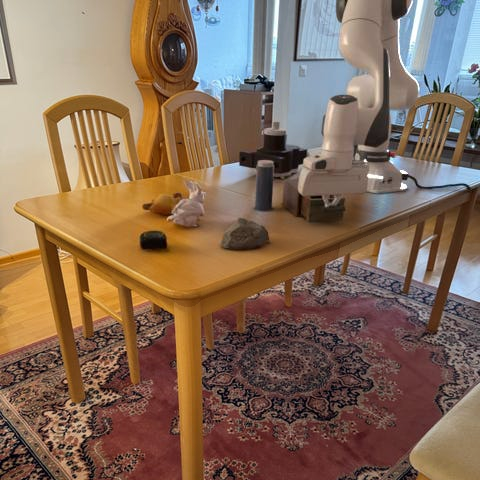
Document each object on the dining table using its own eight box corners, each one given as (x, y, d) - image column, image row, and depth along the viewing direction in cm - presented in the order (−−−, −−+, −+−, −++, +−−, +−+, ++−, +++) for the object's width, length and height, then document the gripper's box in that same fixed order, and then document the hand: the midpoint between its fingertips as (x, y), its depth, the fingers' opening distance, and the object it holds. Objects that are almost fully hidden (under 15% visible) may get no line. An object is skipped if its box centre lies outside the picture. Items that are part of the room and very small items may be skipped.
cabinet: (332, 214, 146) (336, 188, 142) (296, 216, 144) (298, 190, 139) (315, 202, 158) (318, 177, 154) (282, 204, 156) (283, 179, 151)
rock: (254, 234, 128) (255, 211, 124) (276, 243, 122) (278, 220, 119) (217, 245, 120) (217, 221, 117) (239, 255, 115) (239, 231, 111)
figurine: (213, 220, 138) (213, 178, 132) (181, 233, 128) (179, 188, 121) (193, 215, 142) (192, 174, 136) (160, 228, 132) (157, 183, 125)
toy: (137, 206, 138) (152, 192, 151) (146, 225, 141) (160, 210, 154) (170, 195, 135) (182, 182, 148) (178, 215, 138) (190, 200, 150)
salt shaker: (269, 205, 154) (271, 159, 146) (274, 210, 149) (276, 163, 142) (253, 206, 153) (254, 160, 145) (257, 211, 148) (259, 163, 140)
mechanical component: (240, 121, 182) (283, 115, 202) (239, 174, 193) (280, 164, 212) (283, 126, 170) (325, 120, 190) (280, 183, 181) (320, 172, 200)
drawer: (349, 225, 134) (353, 203, 131) (314, 227, 132) (316, 205, 129) (325, 207, 150) (327, 187, 146) (293, 209, 147) (294, 188, 144)
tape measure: (140, 253, 115) (139, 239, 113) (141, 243, 121) (140, 230, 119) (167, 252, 116) (166, 238, 114) (167, 242, 122) (166, 229, 120)
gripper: (365, 157, 131) (357, 205, 138) (298, 159, 126) (294, 208, 133) (375, 161, 125) (367, 211, 132) (306, 163, 121) (301, 214, 128)
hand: (330, 209), depth 133 cm, fingers closed, pressing on drawer
